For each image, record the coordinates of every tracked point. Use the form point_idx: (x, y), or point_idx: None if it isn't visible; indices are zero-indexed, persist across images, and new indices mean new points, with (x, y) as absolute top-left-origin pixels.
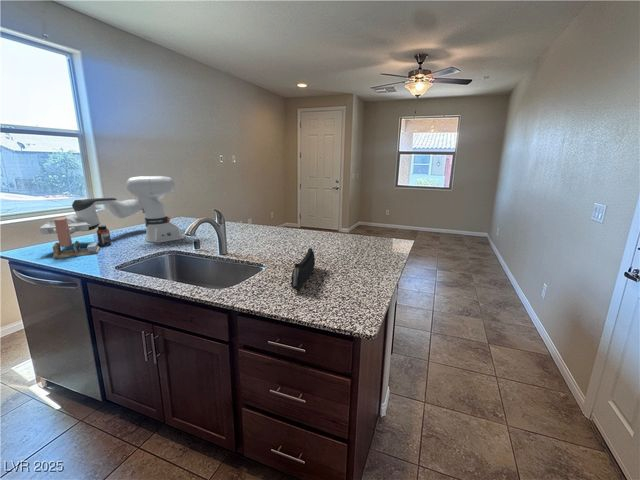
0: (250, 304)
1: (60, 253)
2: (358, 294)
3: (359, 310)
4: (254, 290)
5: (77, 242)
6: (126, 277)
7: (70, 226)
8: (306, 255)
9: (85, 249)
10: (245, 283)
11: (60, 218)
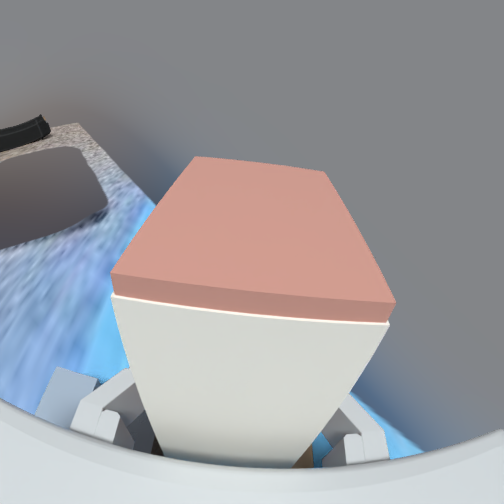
0: (83, 135)
1: None
2: None
3: (55, 128)
4: (59, 142)
5: (136, 439)
6: (118, 181)
7: (124, 447)
8: (5, 128)
9: None
10: (48, 148)
11: (267, 217)
